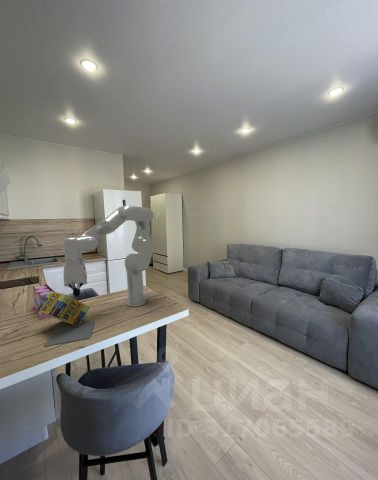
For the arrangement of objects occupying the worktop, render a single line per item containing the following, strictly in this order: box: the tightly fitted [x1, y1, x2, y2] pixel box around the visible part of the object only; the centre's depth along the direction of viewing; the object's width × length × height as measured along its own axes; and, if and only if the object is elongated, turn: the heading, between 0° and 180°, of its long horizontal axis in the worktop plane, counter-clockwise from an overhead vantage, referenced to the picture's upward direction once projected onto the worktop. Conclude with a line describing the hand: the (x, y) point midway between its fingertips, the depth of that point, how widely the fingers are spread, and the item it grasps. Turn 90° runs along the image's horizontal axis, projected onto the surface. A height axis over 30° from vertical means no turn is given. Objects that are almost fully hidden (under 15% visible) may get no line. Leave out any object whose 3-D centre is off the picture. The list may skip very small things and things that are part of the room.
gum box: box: [32, 283, 56, 319], centre depth 126 cm, size 24×8×14 cm, turn 45°
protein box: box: [36, 291, 91, 327], centre depth 106 cm, size 10×15×16 cm
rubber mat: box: [43, 321, 96, 348], centre depth 100 cm, size 18×16×1 cm
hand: (77, 296), depth 110 cm, fingers closed
